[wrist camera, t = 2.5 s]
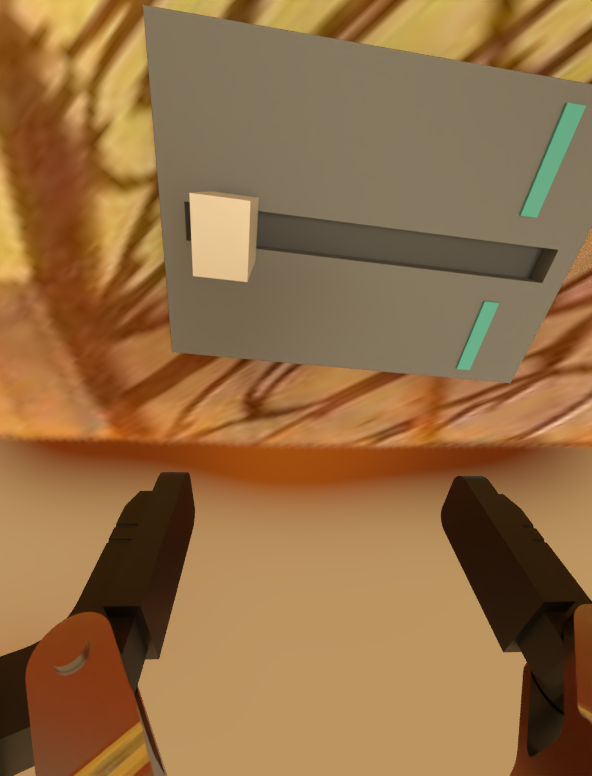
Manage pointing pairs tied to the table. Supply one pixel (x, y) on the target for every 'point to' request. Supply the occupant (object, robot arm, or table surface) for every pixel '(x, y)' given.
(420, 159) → the panel
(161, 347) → the table surface
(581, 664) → the robot arm
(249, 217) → the fader tab
